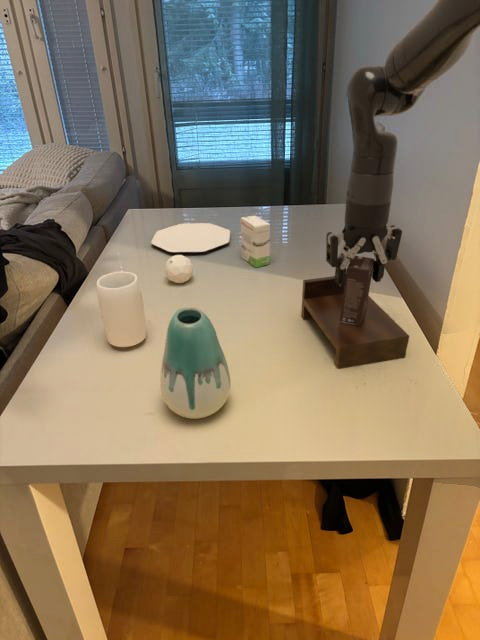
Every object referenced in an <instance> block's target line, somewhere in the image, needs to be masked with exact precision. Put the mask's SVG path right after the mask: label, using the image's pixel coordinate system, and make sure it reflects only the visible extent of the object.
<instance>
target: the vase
mask: <svg viewBox="0 0 480 640" xmlns="http://www.w3.org/2000/svg"><path fill="white" fill-rule="evenodd" d="M165 335H166V337H165V345H164V350H163V354H162V355H163V356H162V360H161V365H160V372H159V388H160V394H161V396H162V399H163V401H164V403H165V404H166V406H167V407H168V408H169V409H170V410H171V411H172V412H173V413H175V414H176V415H178V416H180V417H183V418H185V419H192V420H194V419H195V420H199V419H204V418H208V417H210V416H212V415H214V414H215V413H216V412H218V411H219V410H220V409H222V407H223V406H224V404H225V403H226V402H227V400H228V398H229V395H230V391H231V375H230V374H231V373H230V370H229V365H228V362H227V359H226V356H225V354H224V351H223V348H222V346H221V344H220V340H219V337H218V335H217V331H216V329H215V326H214V324H213V323H212V321H211V319H210V318H209V317H208V315H206V313H204V311H202V310H200V309H199V308H196V307H182V308H179V309H178V310H176V311H175V312H174V314H173V315H172V317H171V319H170V320H169V323H168V326H167V331H166V334H165Z"/></svg>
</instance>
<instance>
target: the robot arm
mask: <svg viewBox="0 0 480 640" xmlns="http://www.w3.org/2000/svg"><path fill="white" fill-rule="evenodd" d="M479 28H480V0H437V1H436V2H435V4H434V5H433V6H432V8H431V9H429V11H428V12H427V13H426V15H424V17H422V19H421V20H420V21H419V22H417V23H416V25H414V27H412V29H410V31H408V33H406V34H405V35H404V36H403V38H402V39H401V40H399V42H397V44H395V46H394V47H393V48H392V49H391V51H389V54H388V55H387V58H386V60H385V65H370V66H362V67H360V68H358V69H357V70H355V72H354V73H353V74H352V75H351V77H350V79H349V81H348V84H347V87H346V104H347V110H348V115H349V121H350V128H351V129H350V130H351V136H352V154H351V155H352V156H351V164H350V173H349V178H348V180H347V181H348V182H347V190H346V201H345V212H344V227H343V229H342V231H341V232H336V233H333V232H332V231H328V232H327V233H326V241H325V242H326V244H325V245H326V246H325V247H326V248H325V252H326V253H325V261H326V263H328V264H329V266H331V267H332V268H334V276H335V281H336V282H337V283H338V285H339V286H340V287H343V286H345V280H346V272H347V267H348V265H349V263H350V260H352V259H353V258H354V257H355V256H357V255H358V254H359V255H360V254H363V253H372V255H373V256H374V259H375V260H374V265H373V271H372V277H371V280H373V281H374V282H375V283H379V282H381V280H382V279H383V278H384V274H385V268H386V264H387V263H388V262H390V261H394V260H396V258H397V256H398V251H399V247H400V243H401V239H402V235H403V230H402V229H401V228H399V227H397V226H396V225H391V226H389V227H388V226H387V224H388V223H389V218H390V211H391V204H392V197H393V190H394V173H395V165H396V159H397V152H398V151H397V150H398V137H397V135H395V134H394V133H392V132H390V131H386V130H379V129H378V128H377V126H376V122H375V117H388V116H389V117H390V116H397V115H401V114H404V113H406V112H408V111H410V110H411V109H412V108H413V107H414V106H415V105H416V104H417V102H418V101H419V99H420V97H421V96H422V95H423V93H424V92H425V90H426V88H427V87H428V86H430V85H431V84H432V83H434V82H435V81H437V80H438V79H439V78H440V77H442V76H443V75H444V74H446V73H447V72H449V70H451V69H452V68H453V67H454V66H455V65H457V63H458V62H459V61H460V60H461V59H462V57H463V56H464V54H465V53H466V51H467V50H468V48H469V46H470V43H471V41H472V38H473V35H474V33H475V32H476V31H477V30H478V29H479ZM385 238H387V239H386V244H385V247H383V245H382V242H383V240H384V239H385ZM342 241H344V243H343V245H342V246H341V243H342ZM339 246H341V248H340V250H339ZM384 248H385V249H384Z"/></svg>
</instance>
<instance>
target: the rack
mask: <svg viewBox="0 0 480 640" xmlns="http://www.w3.org/2000/svg"><path fill="white" fill-rule="evenodd" d="M343 294H344V286H343V287H340V286H339V285H338V283H337V282H336V281H335V275H333V276H325V277H317V278H309V279H303V280H302V293H301V295H302V297H301V313H300V314H301V315H300V316H301V318H302V319H303V320H311V319H313V320H314V321H315V323H316V324H317V325H318V327H319V328H320V330H321V331H322V332H323V334H324V335H325V336H326V338H327V339H328V340H329V342H330V344H332V346H333V347H334V348H335V355H334V356H335V358H334V366H335V367H336V369H337V370H339V369H343V368H349V367H356V366H363V365H368V364H369V365H370V364H374V363H379V362H380V363H381V362H386V361H392V360H398V359H403V358H406V354H407V349H408V345H409V341H410V340H409V339H410V335H409V334H408V333H407V332H406V331H405V330H404V329H403V327H401V326H400V325H399V324H398V323H397V322H396V321H395V320H394V319H393V318H392V317H391V316H390V315H389V314H388V313H387V312H386V311H385V310H384V309H383V308H382V306H380V305H379V304H378V303H376V301H375V300H374V299H373V298H371V296H370V295H369V296H368V302H367V308H366V313H365V315H364V317H363V320H362V323H361V325H353V324H347V323H342V322H340V315H341V308H342V301H343Z"/></svg>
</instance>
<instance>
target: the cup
mask: <svg viewBox="0 0 480 640" xmlns="http://www.w3.org/2000/svg"><path fill="white" fill-rule="evenodd" d="M96 292H97V300H98V306H99V311H100V316H101V321H102V324H103V328H104V331H105V332H104V333H105V335H106V338H107V342H108V344H110V345H112V346H114V347H118V348H126V347H132V346H136V345H138V344H140V343H142V342H143V341H144V340H145V339H146V337H147V324H146V314H145V307H144V299H143V293H142V289H141V285H140V281H139V277H138V276H137V274H135V273H133V272H130V271H113V272H110V273H106V274H103V275H102V276H100V277H98V279H97V280H96Z"/></svg>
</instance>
